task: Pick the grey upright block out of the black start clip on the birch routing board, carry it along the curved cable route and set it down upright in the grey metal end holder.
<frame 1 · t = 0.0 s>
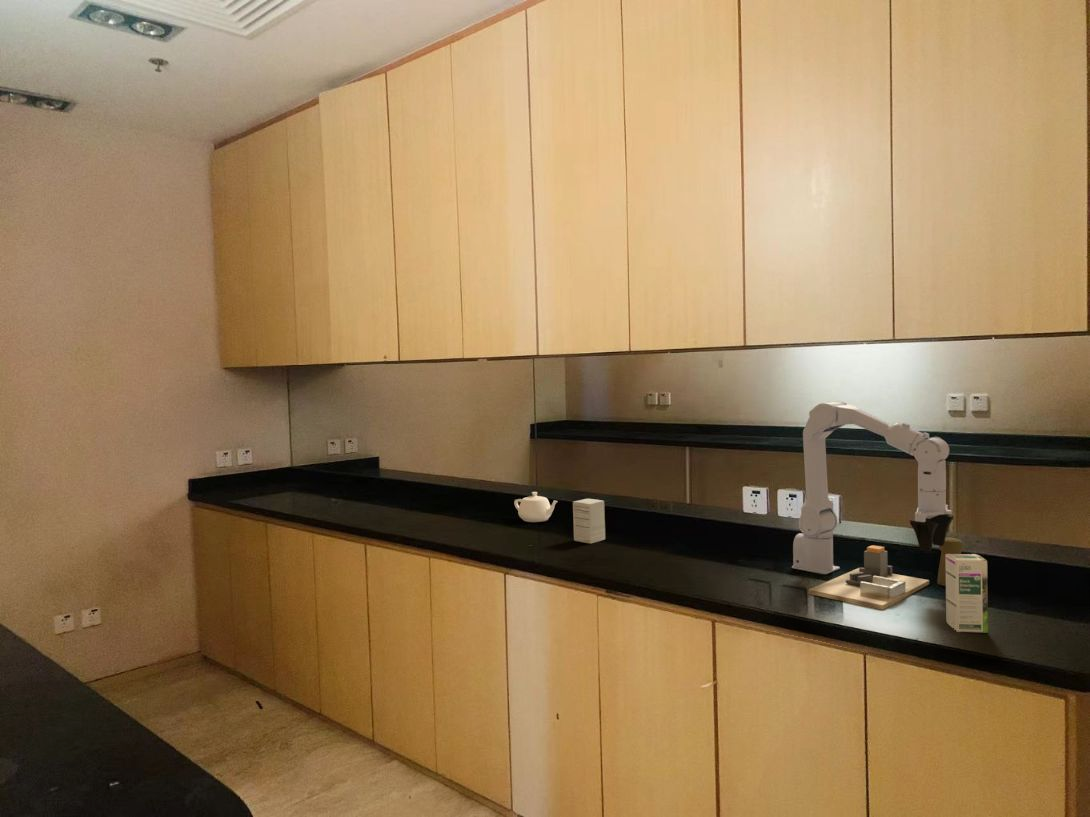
hand: (932, 548, 170), 10 cm above the counter, fingers open, 7 cm apart
routing board: (869, 588, 173), on the counter
supplement box: (589, 540, 232), on the counter
middle clip: (860, 582, 175), resting on routing board
cork: (951, 584, 176), on the counter
end holder: (881, 592, 167), resting on routing board
teapot: (536, 520, 268), on the counter
start clip: (875, 571, 181), on the routing board, point 1 cm above the counter
syrup box: (966, 628, 146), on the counter
grey upright block: (871, 560, 182), on the routing board, point 4 cm above the counter
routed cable: (868, 581, 174), on the routing board, point 1 cm above the counter
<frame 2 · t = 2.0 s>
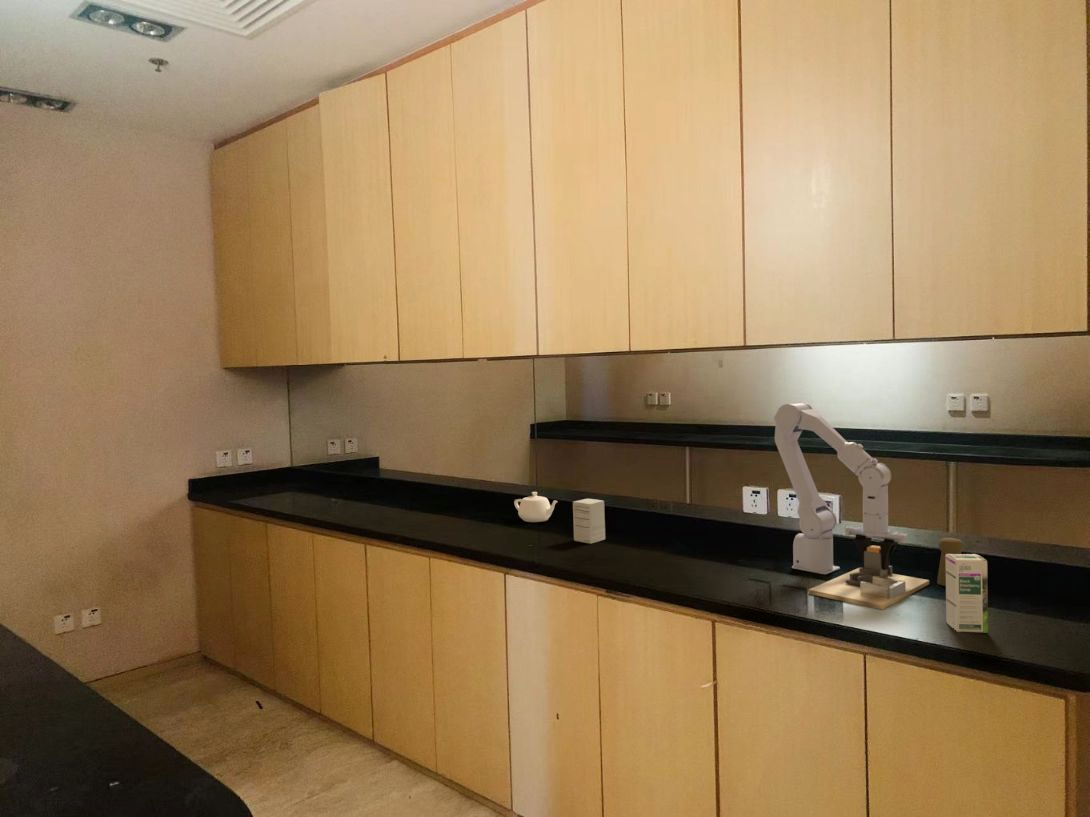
hand: (875, 567, 181), 3 cm above the counter, fingers closed on grey upright block, 4 cm apart
grey upright block: (871, 560, 182), on the routing board, point 4 cm above the counter, touching gripper
everything else where it was.
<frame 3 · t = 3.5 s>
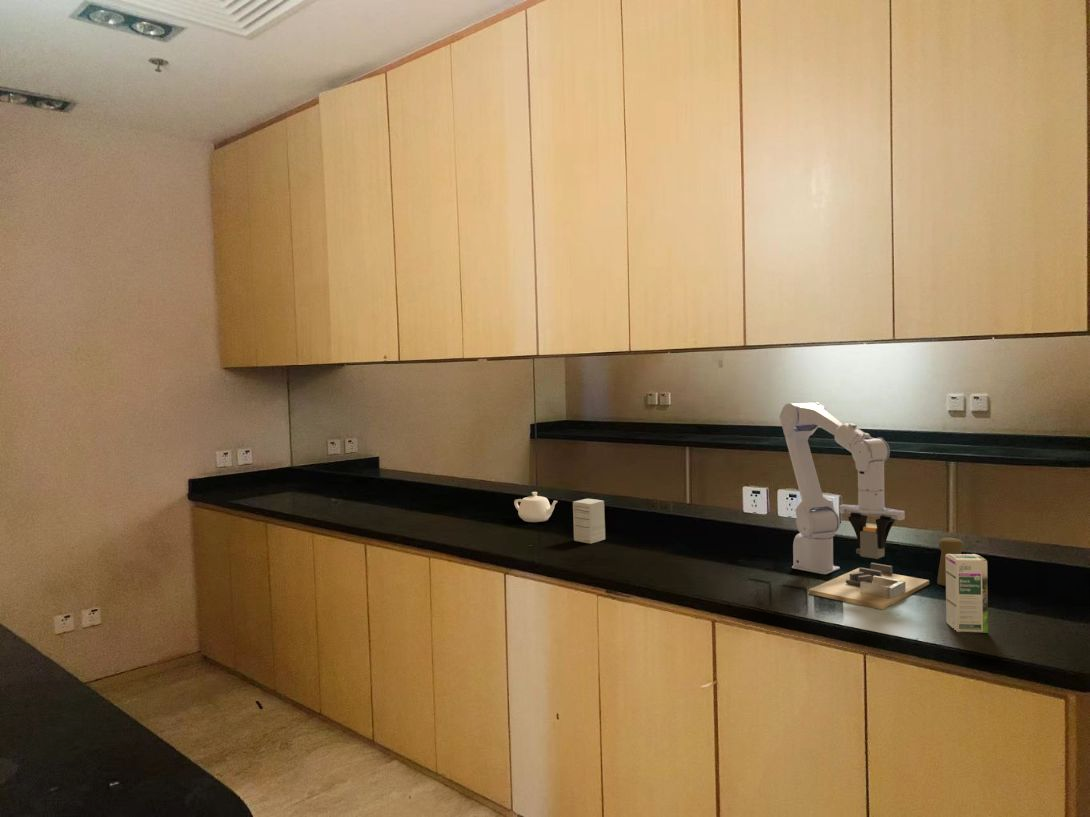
hand: (871, 546, 173), 10 cm above the counter, fingers closed on grey upright block, 4 cm apart
grey upright block: (868, 540, 174), point 11 cm above the counter, touching gripper
everything else where it was.
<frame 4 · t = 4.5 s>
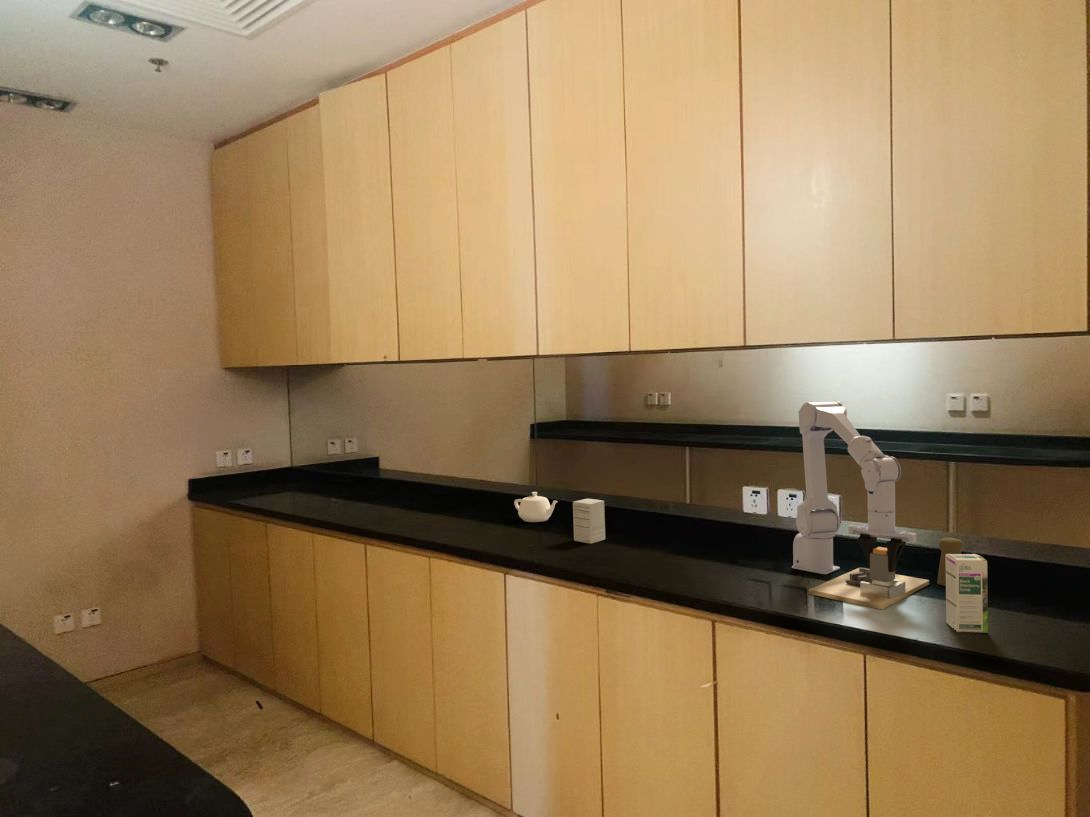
hand: (881, 569, 167), 6 cm above the counter, fingers closed on grey upright block, 4 cm apart
grey upright block: (878, 563, 168), point 8 cm above the counter, touching gripper
everything else where it was.
when the fingers open (4 cm above the counter, at t = 5.3 s): grey upright block drops 1 cm, resting on routing board.
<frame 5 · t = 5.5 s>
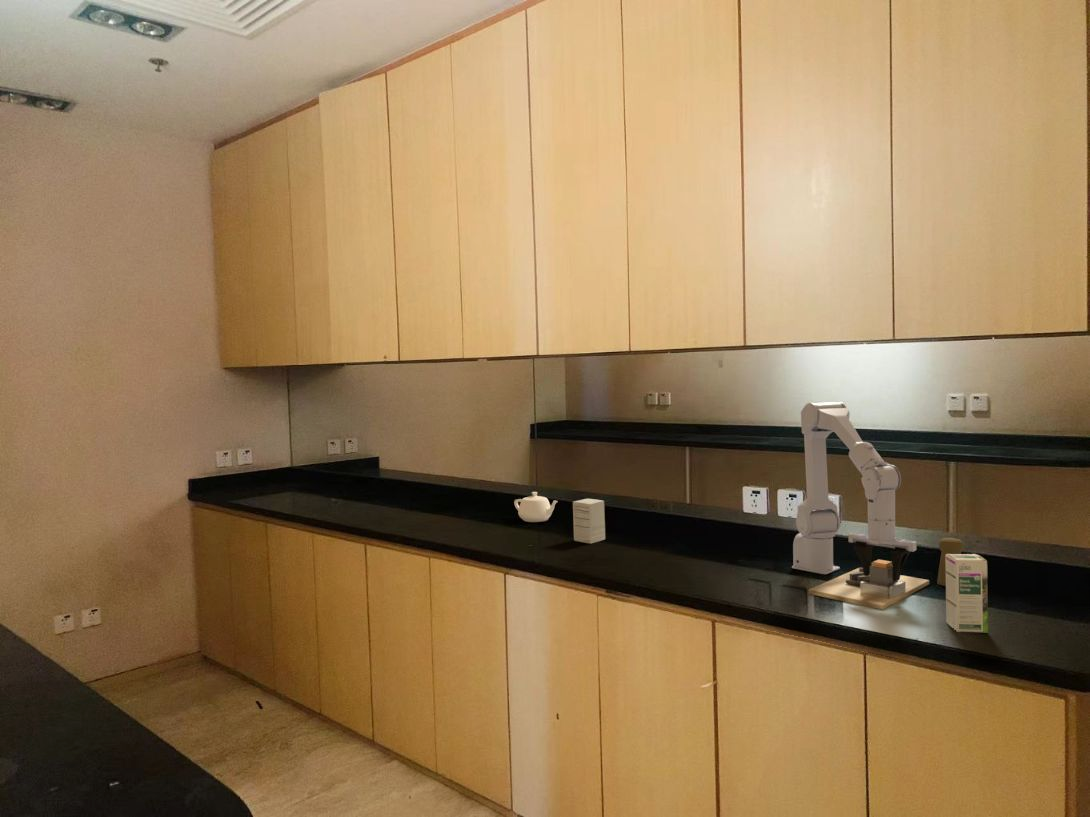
hand: (881, 577, 167), 4 cm above the counter, fingers open, 6 cm apart
grey upright block: (878, 576, 168), in the end holder, point 4 cm above the counter, touching routing board
everything else where it was.
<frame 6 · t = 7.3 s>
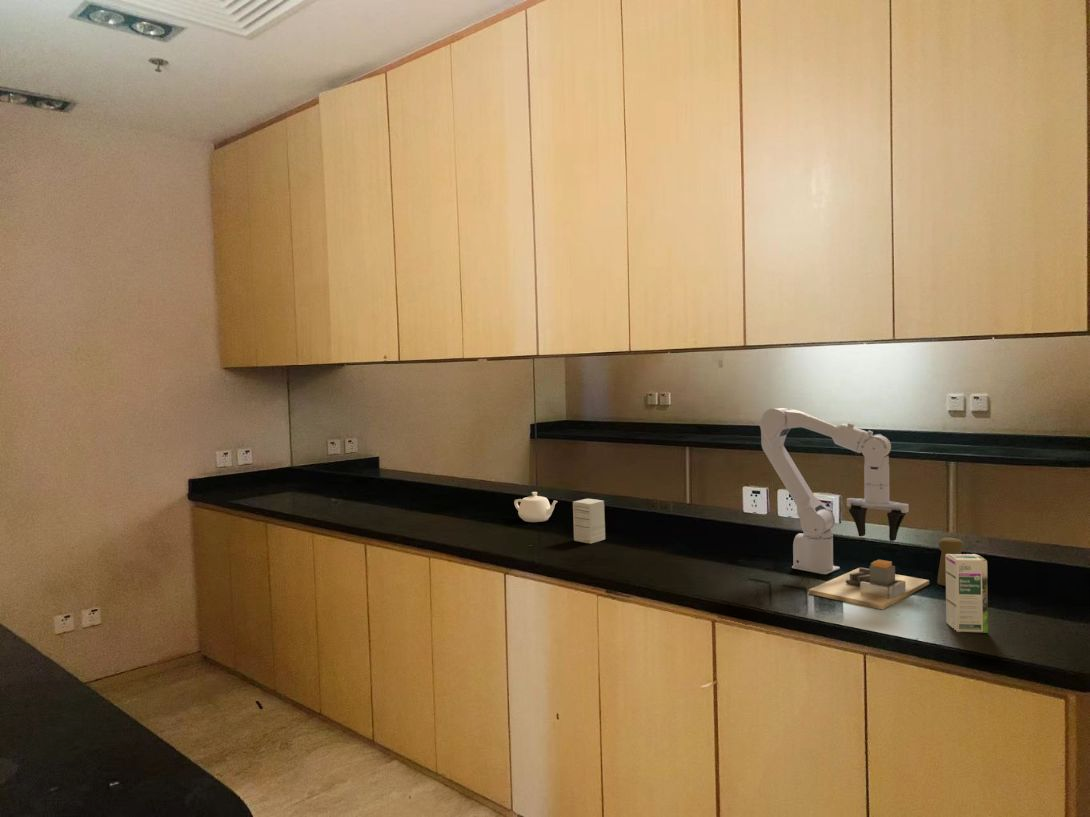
hand: (877, 537, 182), 10 cm above the counter, fingers open, 7 cm apart
nothing on the counter moved.
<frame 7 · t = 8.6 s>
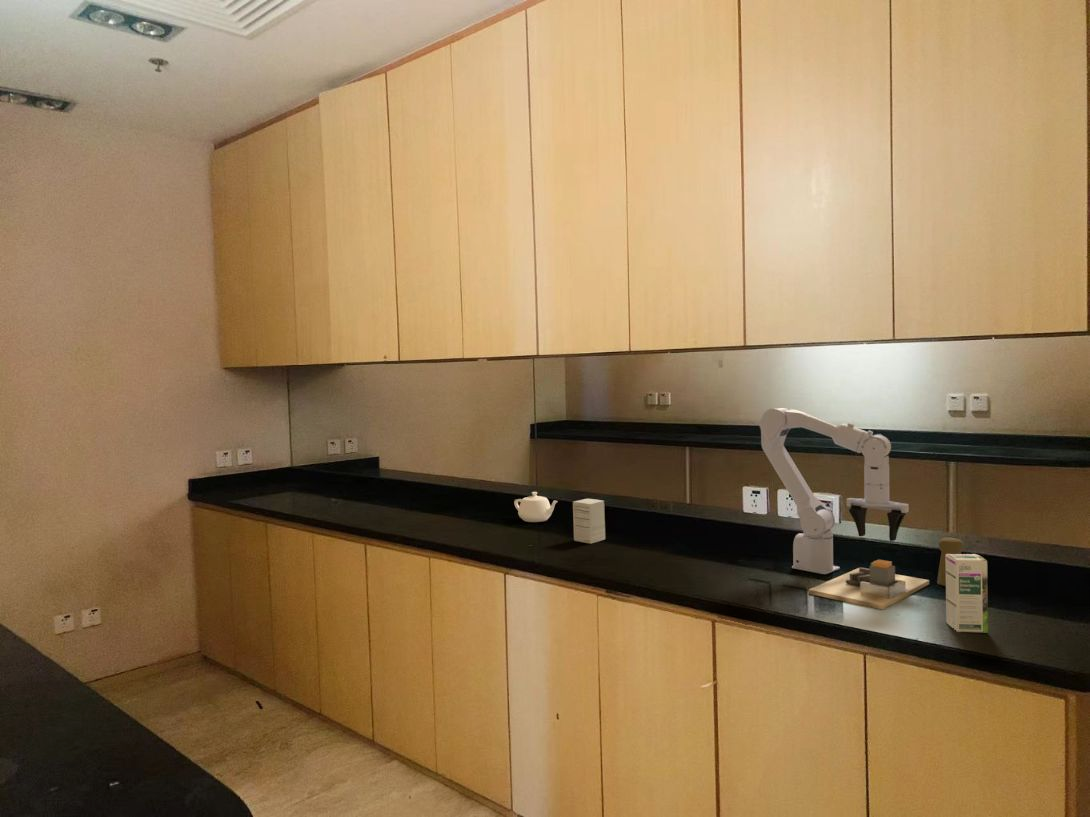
hand: (877, 537, 182), 10 cm above the counter, fingers open, 7 cm apart
nothing on the counter moved.
at the end: grey upright block 0.4 cm off-centre on the end holder, point 3.5 cm above the end holder's base; grey upright block tilted 0°; the gripper is holding nothing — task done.
